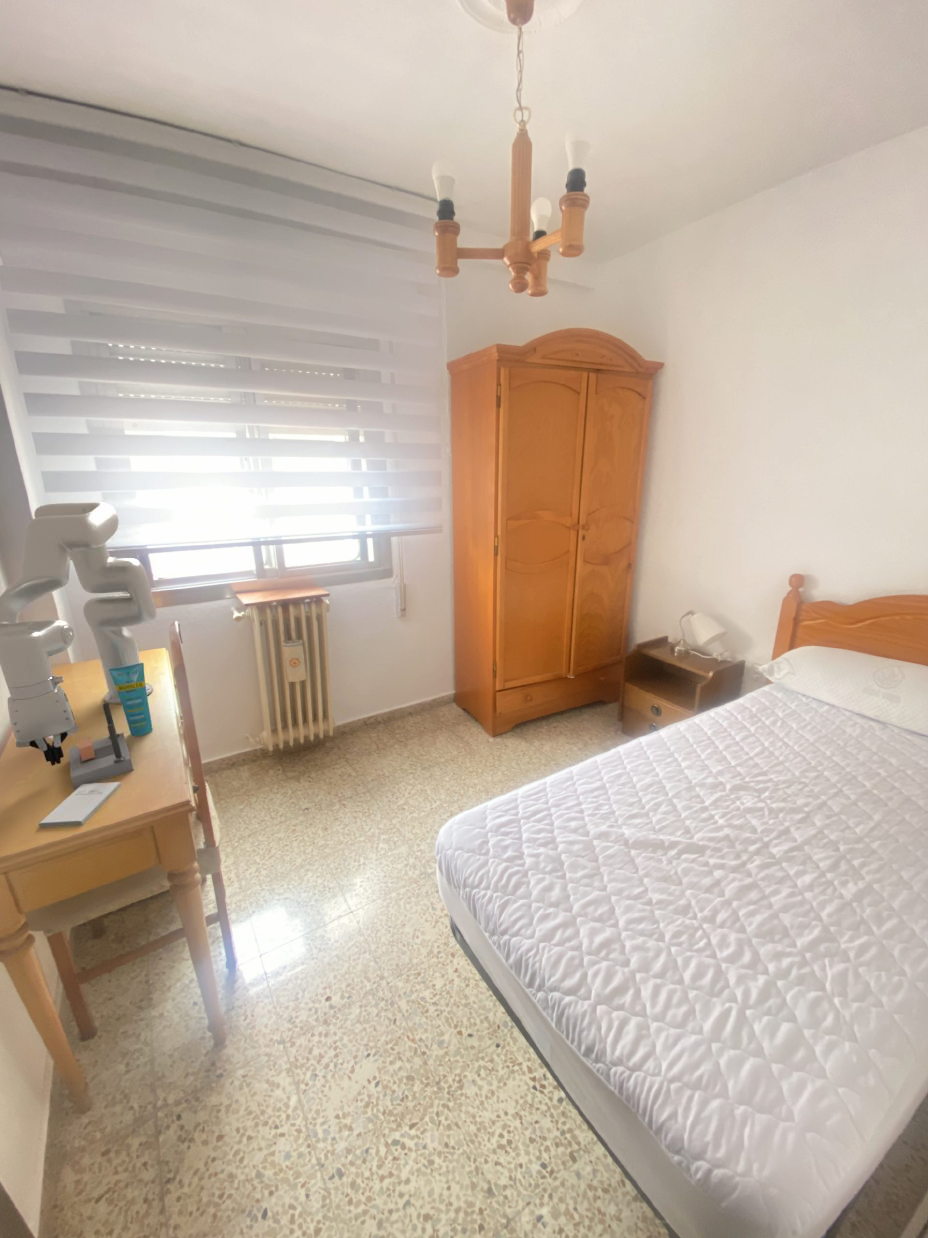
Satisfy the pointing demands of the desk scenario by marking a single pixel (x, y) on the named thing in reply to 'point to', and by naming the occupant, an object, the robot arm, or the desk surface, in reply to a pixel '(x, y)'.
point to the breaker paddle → (86, 749)
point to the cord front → (114, 741)
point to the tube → (133, 697)
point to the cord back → (108, 714)
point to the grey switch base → (99, 762)
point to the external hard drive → (80, 805)
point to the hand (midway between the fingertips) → (56, 761)
